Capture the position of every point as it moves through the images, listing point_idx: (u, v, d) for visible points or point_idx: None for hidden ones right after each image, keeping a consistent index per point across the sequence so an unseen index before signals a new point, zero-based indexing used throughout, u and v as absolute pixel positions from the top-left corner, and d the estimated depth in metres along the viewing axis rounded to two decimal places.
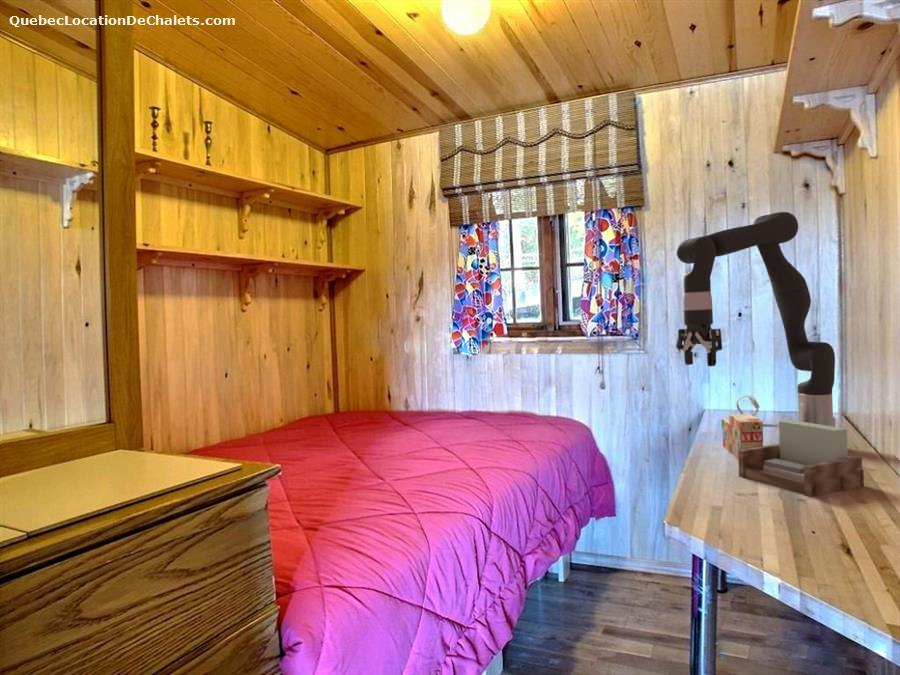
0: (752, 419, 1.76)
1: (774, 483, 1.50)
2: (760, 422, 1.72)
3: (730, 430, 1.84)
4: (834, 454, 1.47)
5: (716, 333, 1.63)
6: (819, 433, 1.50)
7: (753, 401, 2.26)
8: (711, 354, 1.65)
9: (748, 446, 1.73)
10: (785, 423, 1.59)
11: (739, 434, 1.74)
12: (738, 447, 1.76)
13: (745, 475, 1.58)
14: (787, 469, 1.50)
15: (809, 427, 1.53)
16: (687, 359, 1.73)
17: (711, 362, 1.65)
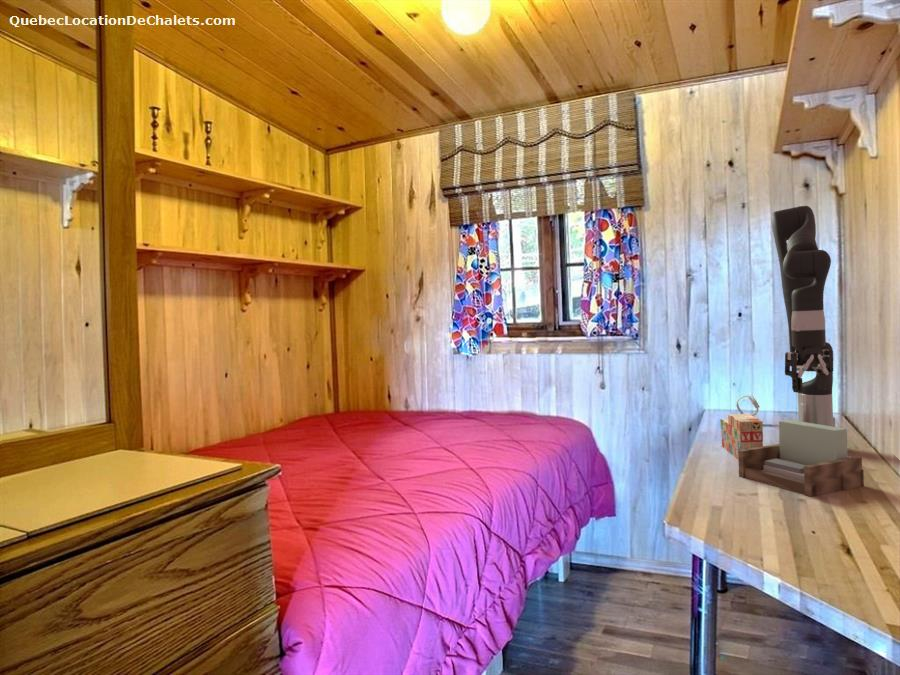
0: (752, 419, 1.76)
1: (774, 483, 1.50)
2: (760, 422, 1.73)
3: (729, 430, 1.85)
4: (834, 454, 1.47)
5: None
6: (819, 433, 1.50)
7: (753, 401, 2.26)
8: (826, 376, 1.55)
9: (748, 446, 1.74)
10: (785, 423, 1.59)
11: (739, 434, 1.75)
12: (738, 447, 1.77)
13: (745, 475, 1.58)
14: (787, 469, 1.50)
15: (809, 427, 1.53)
16: None
17: None
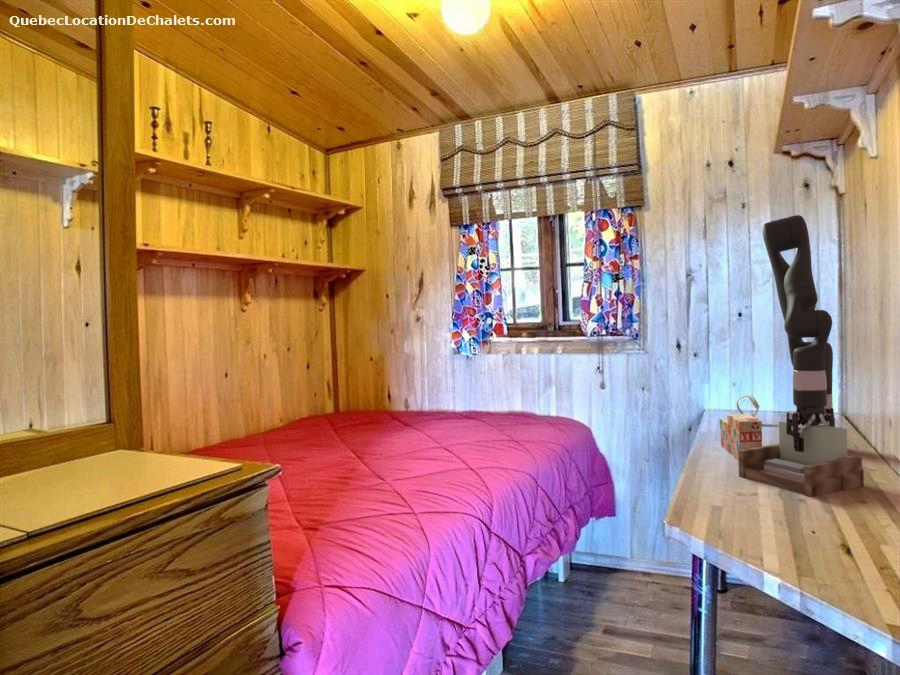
0: (751, 419, 1.76)
1: (774, 483, 1.50)
2: (759, 422, 1.73)
3: (729, 430, 1.85)
4: (834, 454, 1.47)
5: None
6: (819, 433, 1.50)
7: (753, 401, 2.26)
8: None
9: (747, 446, 1.74)
10: (785, 423, 1.59)
11: (738, 434, 1.75)
12: (737, 447, 1.77)
13: (745, 475, 1.58)
14: (788, 469, 1.50)
15: (809, 427, 1.53)
16: None
17: None
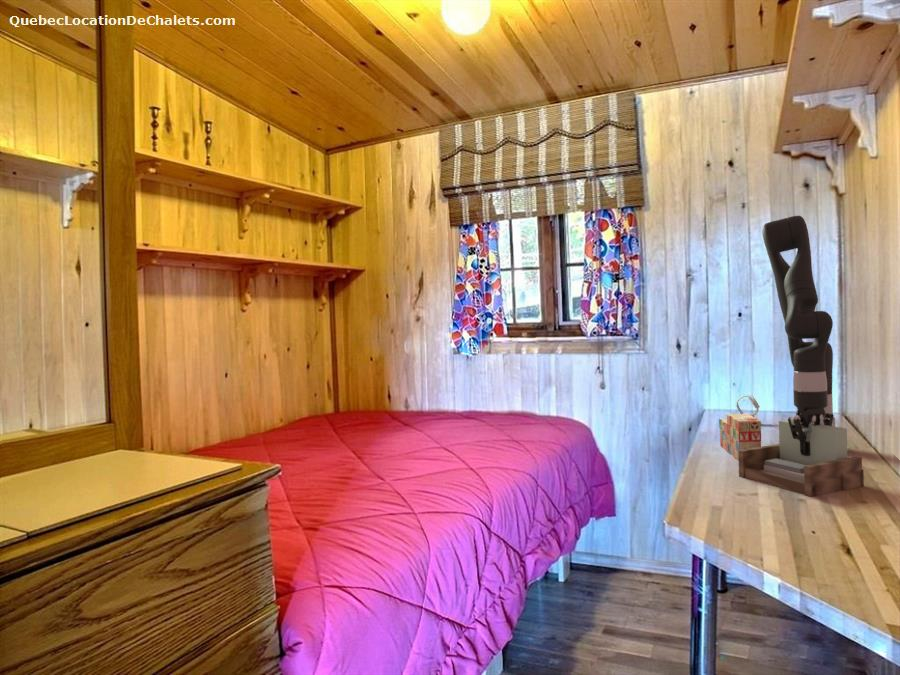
0: (750, 419, 1.76)
1: (774, 483, 1.50)
2: (758, 422, 1.73)
3: (728, 430, 1.85)
4: (834, 454, 1.47)
5: None
6: (819, 433, 1.50)
7: (753, 401, 2.26)
8: None
9: (747, 446, 1.74)
10: (785, 423, 1.59)
11: (737, 434, 1.75)
12: (736, 447, 1.77)
13: (745, 475, 1.58)
14: (788, 469, 1.50)
15: None
16: None
17: None
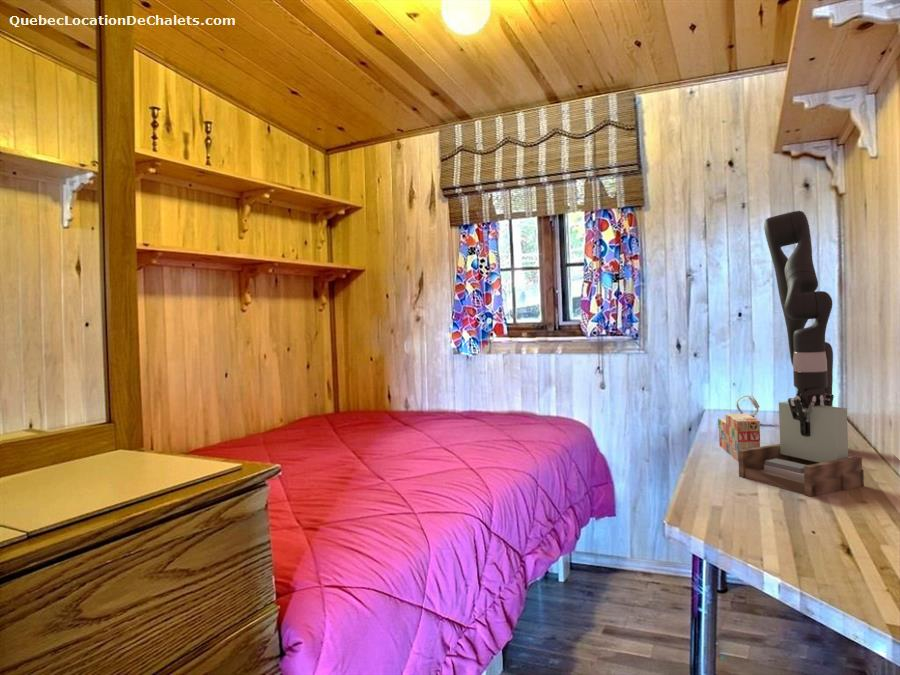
0: (749, 419, 1.77)
1: (774, 483, 1.50)
2: (757, 421, 1.73)
3: (727, 430, 1.85)
4: (834, 434, 1.47)
5: None
6: (819, 413, 1.50)
7: (753, 401, 2.26)
8: None
9: (746, 446, 1.74)
10: (785, 404, 1.59)
11: (736, 433, 1.75)
12: (735, 446, 1.77)
13: (745, 475, 1.58)
14: (788, 469, 1.51)
15: None
16: None
17: None
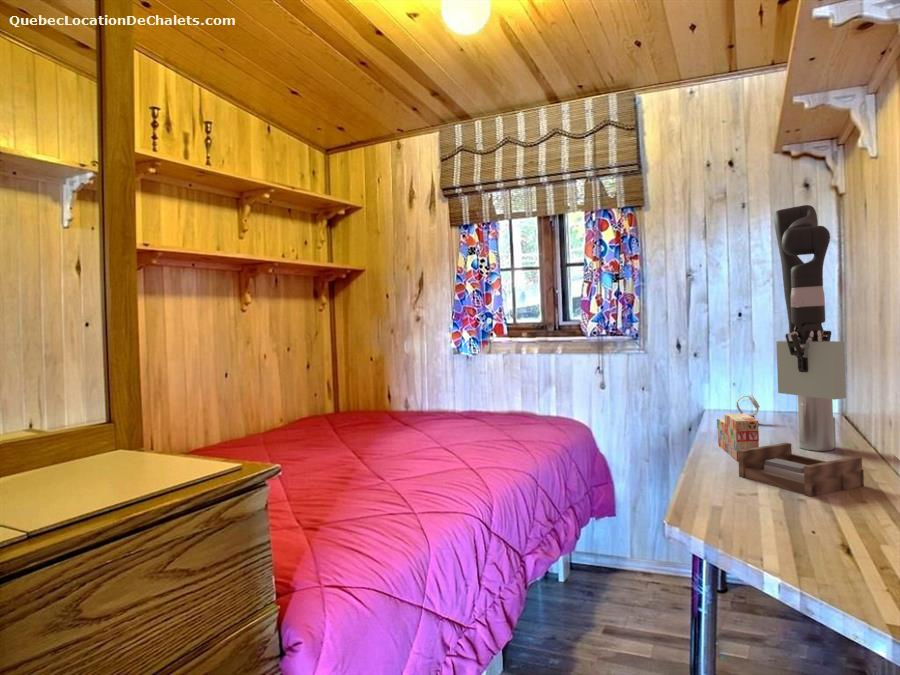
0: (748, 418, 1.77)
1: (774, 483, 1.50)
2: (756, 421, 1.74)
3: (726, 429, 1.86)
4: (832, 366, 1.46)
5: None
6: (816, 347, 1.50)
7: (753, 401, 2.26)
8: None
9: (744, 446, 1.74)
10: (783, 342, 1.59)
11: (735, 433, 1.76)
12: (734, 446, 1.77)
13: (745, 475, 1.58)
14: (788, 469, 1.51)
15: None
16: None
17: None
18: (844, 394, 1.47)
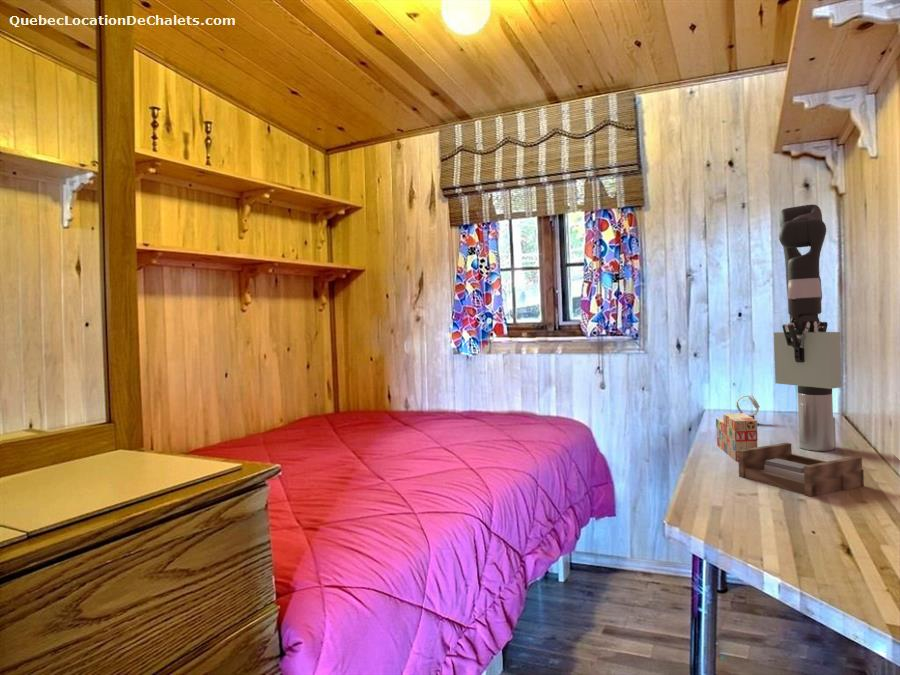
0: (746, 418, 1.77)
1: (774, 483, 1.50)
2: (754, 421, 1.74)
3: (724, 429, 1.86)
4: (828, 356, 1.49)
5: None
6: (812, 338, 1.53)
7: (753, 401, 2.26)
8: None
9: (743, 445, 1.75)
10: (780, 333, 1.62)
11: (734, 433, 1.76)
12: (733, 446, 1.78)
13: (745, 475, 1.58)
14: (788, 469, 1.51)
15: None
16: None
17: None
18: (840, 383, 1.50)
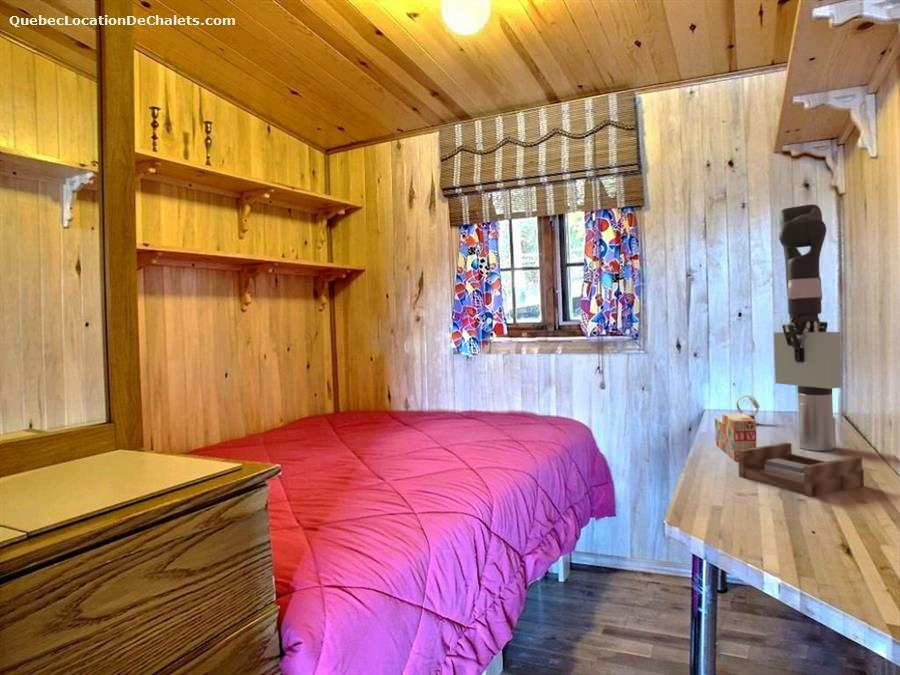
0: (745, 418, 1.77)
1: (774, 483, 1.50)
2: (753, 421, 1.74)
3: (723, 429, 1.86)
4: (828, 356, 1.49)
5: None
6: (812, 338, 1.53)
7: (753, 401, 2.26)
8: None
9: (742, 445, 1.75)
10: (780, 333, 1.62)
11: (733, 433, 1.76)
12: (732, 446, 1.78)
13: (745, 475, 1.58)
14: (789, 468, 1.51)
15: None
16: None
17: None
18: (840, 383, 1.50)
